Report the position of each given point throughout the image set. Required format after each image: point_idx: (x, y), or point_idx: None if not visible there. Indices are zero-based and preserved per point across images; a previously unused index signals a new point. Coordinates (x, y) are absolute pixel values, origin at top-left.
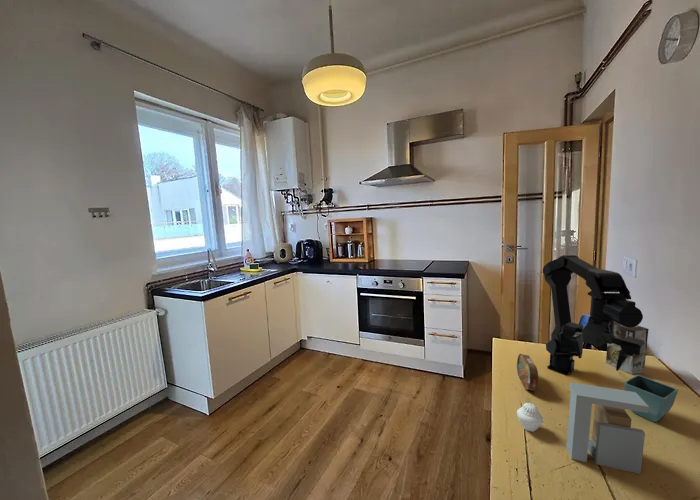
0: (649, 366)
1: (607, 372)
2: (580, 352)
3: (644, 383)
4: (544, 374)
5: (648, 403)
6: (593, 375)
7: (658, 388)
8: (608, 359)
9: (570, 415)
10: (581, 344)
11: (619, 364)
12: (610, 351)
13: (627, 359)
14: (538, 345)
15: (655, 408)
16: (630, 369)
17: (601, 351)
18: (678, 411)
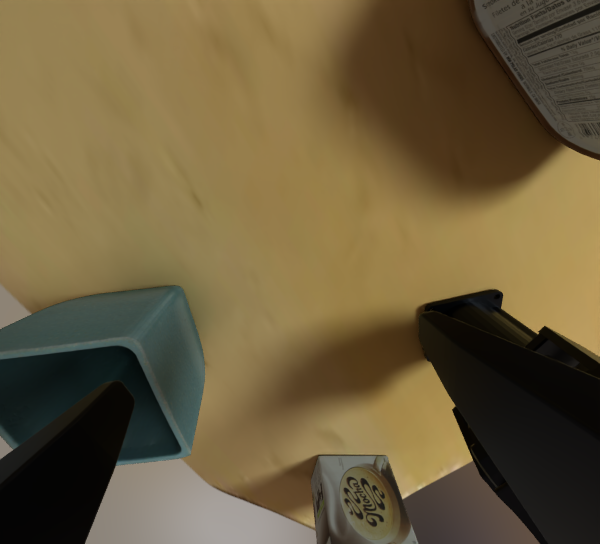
0: None
1: (357, 420)
2: (468, 369)
3: (169, 425)
4: (487, 236)
5: (65, 313)
6: (371, 377)
7: None
8: (385, 470)
9: None
10: (581, 536)
11: (7, 462)
12: (393, 507)
13: (340, 504)
14: None
15: (50, 312)
16: (324, 469)
17: (420, 487)
18: None
